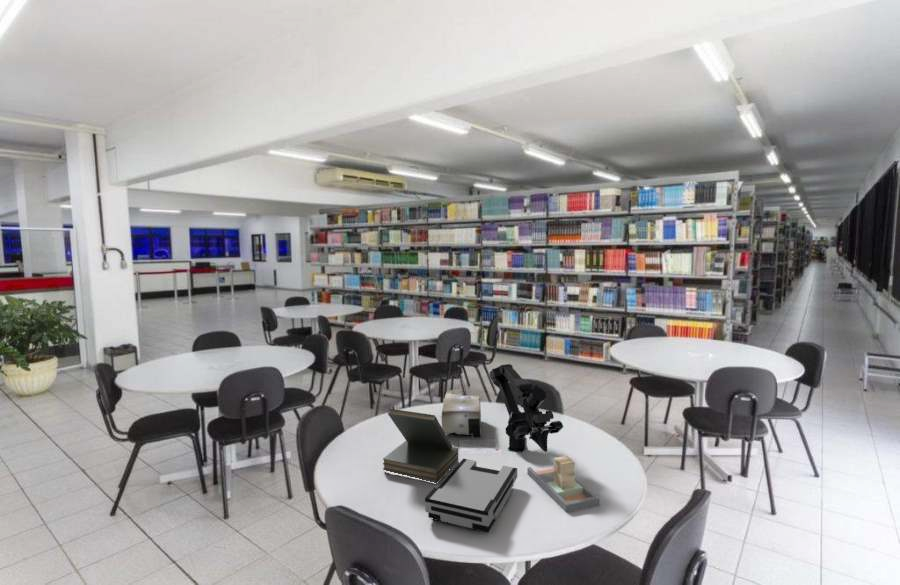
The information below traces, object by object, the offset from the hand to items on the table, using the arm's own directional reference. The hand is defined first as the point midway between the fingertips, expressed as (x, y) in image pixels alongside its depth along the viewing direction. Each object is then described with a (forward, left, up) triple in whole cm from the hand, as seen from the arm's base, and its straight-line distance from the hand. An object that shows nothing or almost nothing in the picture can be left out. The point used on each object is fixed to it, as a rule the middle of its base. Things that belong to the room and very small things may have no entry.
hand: (546, 451), depth 173 cm
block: (+9, -9, -7) cm, 14 cm away
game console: (-16, -29, -10) cm, 35 cm away
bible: (-45, -15, -10) cm, 49 cm away
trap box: (+8, -7, -9) cm, 14 cm away
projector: (-51, +29, -10) cm, 59 cm away
